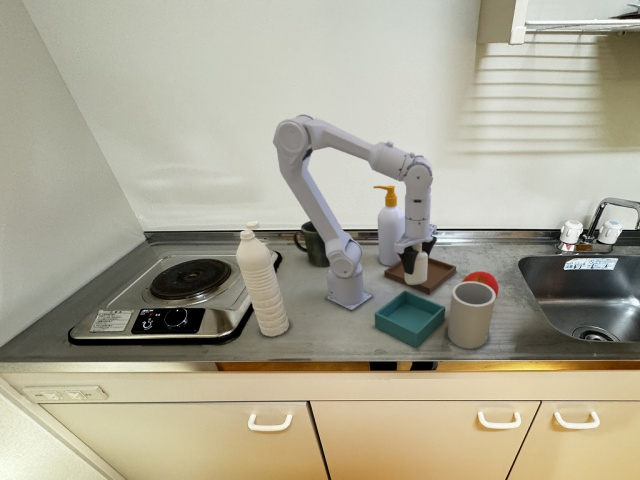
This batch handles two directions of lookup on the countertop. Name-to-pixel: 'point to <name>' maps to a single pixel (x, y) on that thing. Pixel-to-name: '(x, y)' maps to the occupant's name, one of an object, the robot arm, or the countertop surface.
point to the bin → (410, 318)
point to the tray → (435, 275)
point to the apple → (483, 280)
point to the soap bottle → (390, 227)
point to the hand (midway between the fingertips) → (415, 268)
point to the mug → (312, 245)
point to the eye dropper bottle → (418, 267)
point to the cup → (470, 314)
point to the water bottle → (261, 283)
